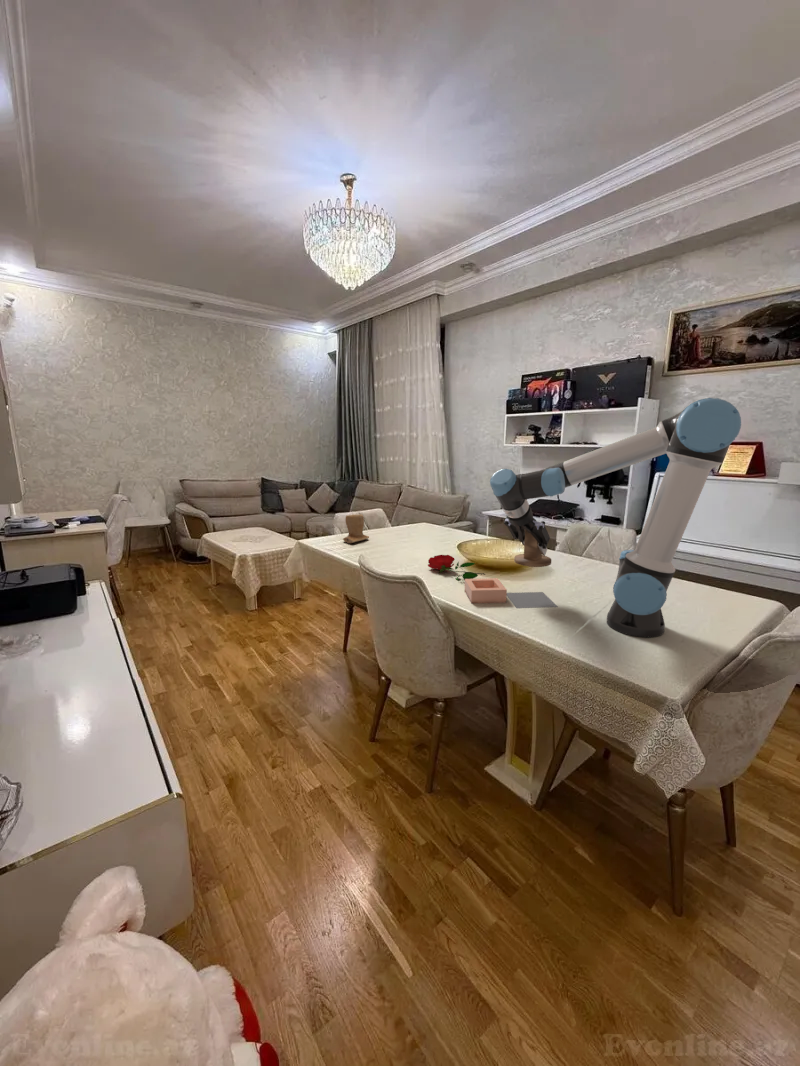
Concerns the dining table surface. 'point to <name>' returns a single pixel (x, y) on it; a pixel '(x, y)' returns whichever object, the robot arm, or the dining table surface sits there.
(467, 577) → the flower
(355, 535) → the wooden stamp
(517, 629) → the dining table surface
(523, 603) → the mat
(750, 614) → the dining table surface
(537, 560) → the lid
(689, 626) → the dining table surface
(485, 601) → the dish
